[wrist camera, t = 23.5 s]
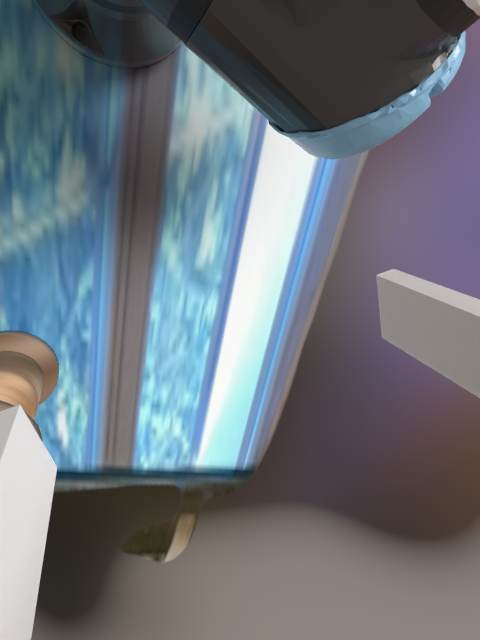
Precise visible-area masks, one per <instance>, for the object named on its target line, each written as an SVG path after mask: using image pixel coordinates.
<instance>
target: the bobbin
mask: <svg viewBox="0 0 480 640" xmlns="http://www.w3.org/2000/svg"><path fill="white" fill-rule="evenodd" d="M58 374H59V363H58V359H57V357H56V354H55V353H54V351H53V350H52V348H51V347H50V346H49V345H48V344H47V343H46V342H44V341H43V340H42V339H40V338H38V337H36V336H34V335H32V334H29V333H26V332H21V331H2V332H0V411H3V410H6V409H9V408H12V407H14V406H17V405H21V407H22V409H23V410H24V412H25V414H26V415H27V417H28V419H29V420H30V422H31V424H32V425H33V427H34V429H35V431H36V432H37V434H38V436H39V437H40V439H41V441H42V435H41V432H40V430H39V427H38V425H37V424H36V423H35V421H34V419H35V415H36V411H37V408H38V405H39V404H41V403H42V402H43V401H45V400H46V399H47V398H48V397H49V396H50V394H51V393H52V392H53V390H54V388H55V386H56V383H57V378H58ZM42 442H43V441H42Z"/></svg>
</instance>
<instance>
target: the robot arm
mask: <svg viewBox="0 0 480 640" xmlns="http://www.w3.org/2000/svg"><path fill="white" fill-rule="evenodd" d="M33 1H34V3H35V5H36V6H37V8H38V10H39V11H40V13H41V14H42V16H43V17H44V18H45V20H46V21H47V22H48V24H49V25H50V26H51V27H52V28H53V29H54V31H55V32H56V33H57V34H58V35H59V36H60V37H61V38H62V39H63V40H65V41H66V42H67V43H68V44H69V45H71V46H72V47H73V48H74V49H76V50H77V51H79V52H80V53H82V54H84V55H85V56H87V57H89V58H91V59H93V60H95V61H97V62H100V63H103V64H106V65H109V66H114V67H119V68H139V67H145V66H148V65H152V64H154V63H157V62H159V61H161V60H163V59H164V58H166V57H167V56H169V55H170V54H171V53H173V52H174V51H175V50H176V49H177V48H178V47H179V46H180V45H181V43H182V42H183V43H184V44H185V45H186V46H187V47H188V48H189V49H190V50H191V51H192V52H193V53H195V54H196V55H197V56H198V57H199V58H200V59H201V60H202V61H203V62H205V63H206V64H207V65H208V66H209V67H210V68H211V69H212V70H214V71H215V72H216V73H217V74H218V75H219V76H220V77H221V78H222V79H224V80H225V81H226V82H227V83H228V84H229V85H230V86H231V87H232V88H234V89H235V90H236V91H237V92H238V93H239V94H240V95H241V96H242V97H244V98H245V99H246V100H247V101H248V102H249V103H250V104H251V105H252V106H254V107H255V108H256V109H257V110H258V111H259V112H260V113H261V114H262V115H264V116H265V117H266V118H267V119H268V120H269V124H270V125H271V126H272V127H273V128H274V129H275V130H276V131H277V132H278V133H280V134H282V135H285V136H287V137H289V138H290V139H292V140H293V141H294V142H295V143H296V144H298V145H299V146H300V147H301V148H303V149H304V150H305V151H306V152H308V153H309V154H311V155H313V156H317V157H322V158H325V159H326V158H328V159H340V158H346V157H350V156H353V155H356V154H359V153H362V152H365V151H367V150H369V149H371V148H373V147H375V146H377V145H379V144H381V143H383V142H384V141H386V140H388V139H389V138H391V137H392V136H394V135H396V134H397V133H398V132H400V131H401V130H402V129H404V128H405V127H407V126H408V125H409V124H410V123H412V122H413V121H414V120H415V119H416V118H417V117H419V116H420V115H421V114H422V113H423V112H424V111H425V110H426V109H427V108H428V107H429V106H430V98H431V97H433V96H434V95H437V94H439V93H441V92H443V91H444V90H445V88H446V87H447V86H448V85H449V83H450V82H451V80H452V79H453V77H454V76H455V74H456V72H457V71H458V69H459V67H460V64H461V61H462V59H463V56H464V53H465V30H466V29H467V28H469V27H470V26H471V25H472V24H474V23H475V22H476V21H477V20H478V19H480V0H33ZM377 286H378V298H379V310H380V322H381V333H382V338H384V339H386V340H387V341H388V342H390V343H392V344H393V345H395V346H397V347H398V348H400V349H401V350H403V351H405V352H406V353H408V354H409V355H411V356H413V357H415V358H416V359H418V360H419V361H421V362H422V363H424V364H426V365H427V366H429V367H431V368H432V369H434V370H435V371H437V372H439V373H440V374H442V375H443V376H445V377H447V378H448V379H450V380H452V381H453V382H455V383H456V384H458V385H460V386H461V387H463V388H464V389H466V390H468V391H469V392H471V393H473V394H474V395H476V396H477V397H479V398H480V300H479V299H476V298H473V297H471V296H468V295H465V294H462V293H460V292H457V291H454V290H451V289H448V288H446V287H443V286H440V285H437V284H434V283H432V282H429V281H426V280H423V279H420V278H417V277H415V276H412V275H409V274H406V273H404V272H401V271H398V270H395V269H392V270H389V271H387V272H384V273H381V274H378V275H377ZM56 471H57V466H56V464H55V463H54V461H53V459H52V458H51V456H50V454H49V452H48V451H47V449H46V447H45V446H44V444H43V442H42V441H41V439H40V437H39V436H38V434H37V432H36V431H35V429H34V427H33V425H32V424H31V422H30V420H29V419H28V417H27V415H26V414H25V412H24V410H23V409H22V407H21V405H17V406H14V407H12V408H9V409H6V410H3V411H0V640H31V635H32V629H33V622H34V615H35V609H36V602H37V596H38V589H39V583H40V582H39V581H40V576H41V570H42V562H43V557H44V550H45V543H46V537H47V530H48V524H49V517H50V511H51V504H52V497H53V491H54V485H55V478H56Z"/></svg>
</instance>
